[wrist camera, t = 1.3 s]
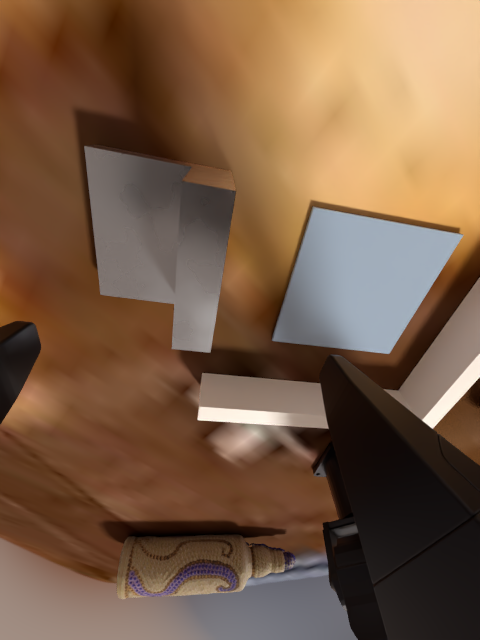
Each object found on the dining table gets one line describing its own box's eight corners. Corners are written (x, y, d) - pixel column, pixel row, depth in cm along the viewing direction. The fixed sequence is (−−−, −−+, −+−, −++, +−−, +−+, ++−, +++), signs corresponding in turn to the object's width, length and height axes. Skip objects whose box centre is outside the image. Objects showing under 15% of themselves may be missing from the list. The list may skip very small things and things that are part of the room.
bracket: (213, 296, 20) (210, 352, 15) (109, 283, 19) (68, 338, 14) (231, 170, 15) (235, 191, 10) (96, 144, 14) (31, 152, 9)
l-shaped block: (405, 402, 27) (426, 435, 25) (200, 385, 25) (197, 420, 22) (575, 180, 16) (650, 191, 14) (241, 102, 14) (246, 95, 11)
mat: (387, 351, 23) (389, 353, 23) (271, 338, 22) (272, 340, 22) (460, 233, 18) (463, 235, 18) (312, 206, 17) (313, 207, 16)
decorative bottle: (129, 547, 45) (117, 605, 39) (125, 527, 41) (110, 589, 35) (285, 545, 48) (293, 599, 43) (296, 527, 44) (307, 584, 38)
